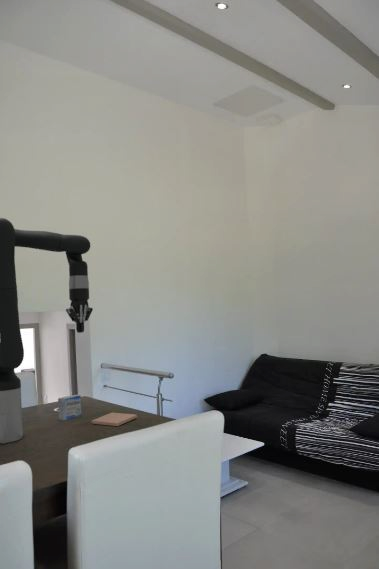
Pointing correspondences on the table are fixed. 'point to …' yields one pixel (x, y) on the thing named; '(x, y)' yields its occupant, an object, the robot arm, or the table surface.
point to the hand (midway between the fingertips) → (80, 332)
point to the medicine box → (69, 407)
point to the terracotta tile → (114, 419)
